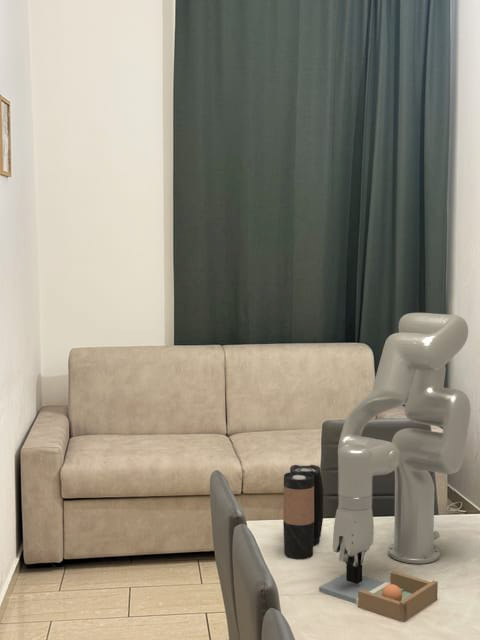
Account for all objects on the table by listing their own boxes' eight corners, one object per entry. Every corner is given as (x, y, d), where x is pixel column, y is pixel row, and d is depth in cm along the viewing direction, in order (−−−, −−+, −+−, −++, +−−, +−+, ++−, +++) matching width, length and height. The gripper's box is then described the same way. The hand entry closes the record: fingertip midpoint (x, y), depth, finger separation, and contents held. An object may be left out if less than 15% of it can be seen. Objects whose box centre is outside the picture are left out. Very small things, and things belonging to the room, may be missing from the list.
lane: (352, 573, 199) (352, 557, 199) (437, 599, 185) (437, 581, 184) (315, 593, 188) (316, 575, 188) (403, 622, 174) (403, 603, 174)
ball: (396, 607, 183) (381, 593, 185) (409, 593, 182) (393, 578, 184) (390, 612, 179) (374, 596, 181) (402, 597, 178) (386, 581, 180)
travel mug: (305, 562, 206) (305, 481, 204) (277, 555, 210) (277, 476, 208) (319, 552, 213) (319, 474, 211) (292, 546, 217) (292, 469, 215)
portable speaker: (280, 539, 222) (280, 466, 220) (310, 533, 226) (311, 461, 224) (298, 550, 214) (299, 474, 212) (329, 543, 219) (329, 469, 217)
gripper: (359, 490, 196) (358, 567, 198) (321, 505, 185) (321, 587, 187) (387, 496, 191) (386, 575, 193) (350, 513, 180) (349, 596, 182)
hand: (354, 581), depth 190 cm, fingers closed
